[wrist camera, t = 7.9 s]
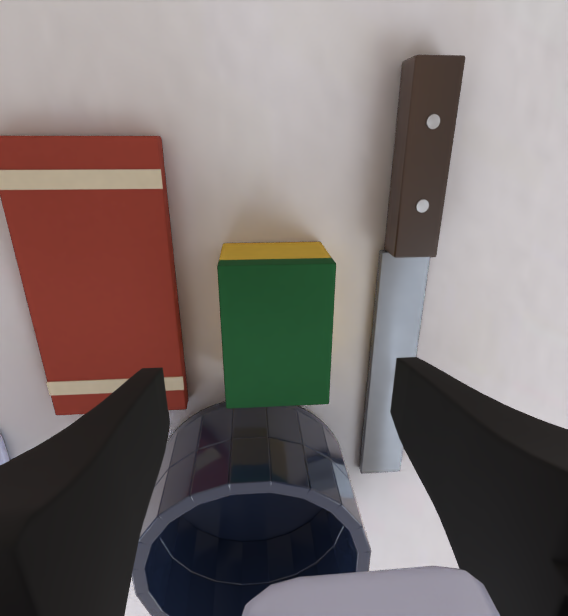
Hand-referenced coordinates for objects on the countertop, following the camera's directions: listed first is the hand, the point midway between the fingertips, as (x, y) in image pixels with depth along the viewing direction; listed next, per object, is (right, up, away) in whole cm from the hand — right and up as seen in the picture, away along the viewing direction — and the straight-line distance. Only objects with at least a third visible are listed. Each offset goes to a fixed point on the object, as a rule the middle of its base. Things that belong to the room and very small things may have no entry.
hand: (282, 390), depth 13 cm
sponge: (0, +3, +6) cm, 7 cm away
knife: (+5, +2, +7) cm, 9 cm away
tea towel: (-8, +3, +5) cm, 10 cm away
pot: (-2, -7, +10) cm, 12 cm away
